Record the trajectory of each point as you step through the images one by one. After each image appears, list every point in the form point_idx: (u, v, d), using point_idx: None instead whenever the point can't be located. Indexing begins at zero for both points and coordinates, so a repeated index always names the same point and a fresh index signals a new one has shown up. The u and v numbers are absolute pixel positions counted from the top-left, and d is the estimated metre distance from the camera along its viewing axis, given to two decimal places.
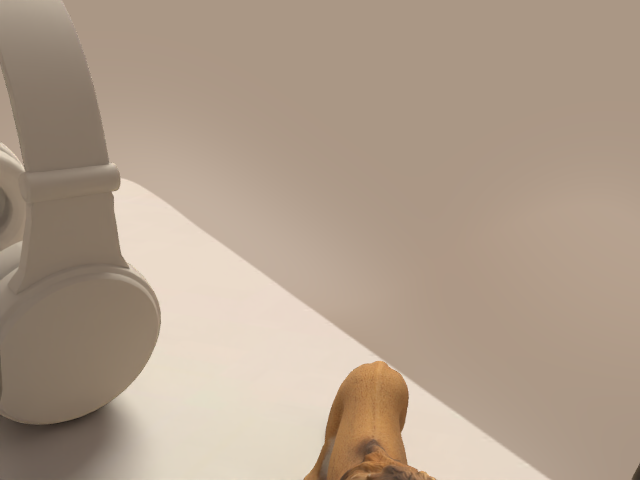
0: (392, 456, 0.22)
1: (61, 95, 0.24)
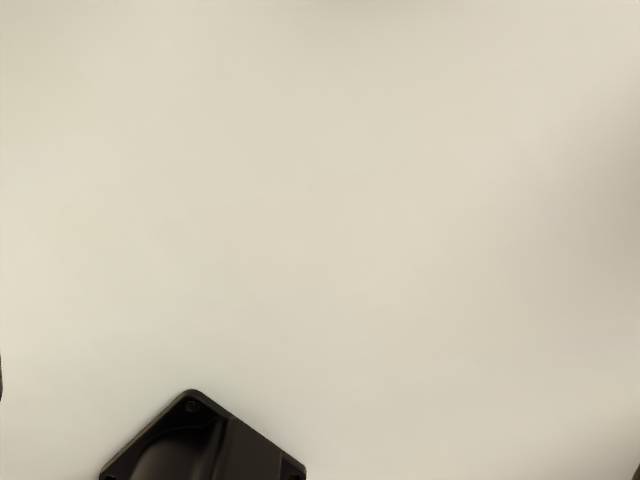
0: None
1: None
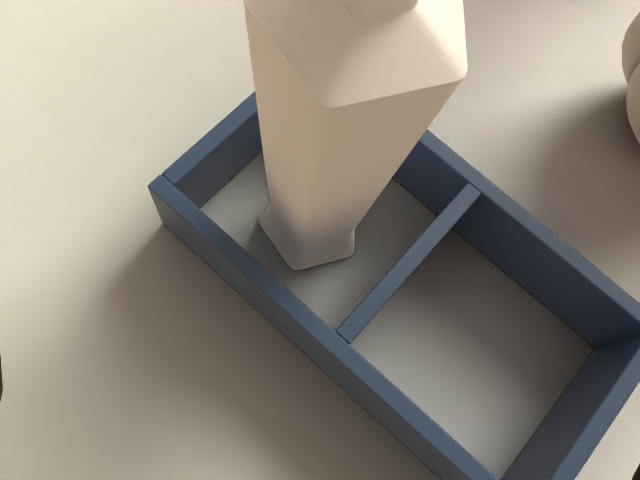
0: None
1: None
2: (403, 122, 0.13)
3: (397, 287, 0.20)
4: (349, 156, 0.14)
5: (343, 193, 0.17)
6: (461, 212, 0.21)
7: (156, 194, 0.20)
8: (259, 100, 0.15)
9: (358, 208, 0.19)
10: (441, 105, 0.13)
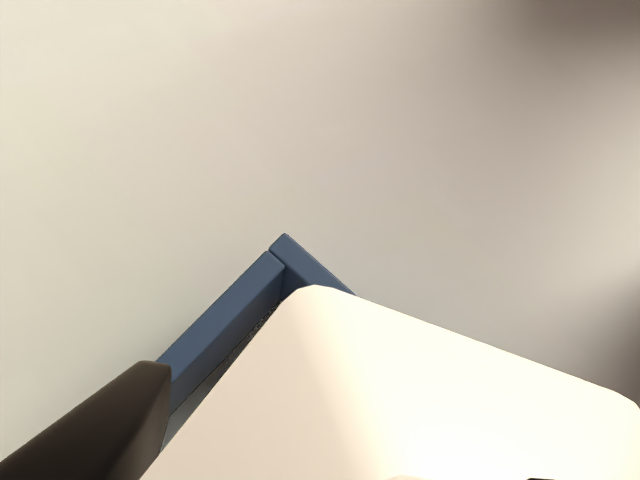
0: None
1: None
2: None
3: None
4: None
5: None
6: None
7: None
8: None
9: None
10: None
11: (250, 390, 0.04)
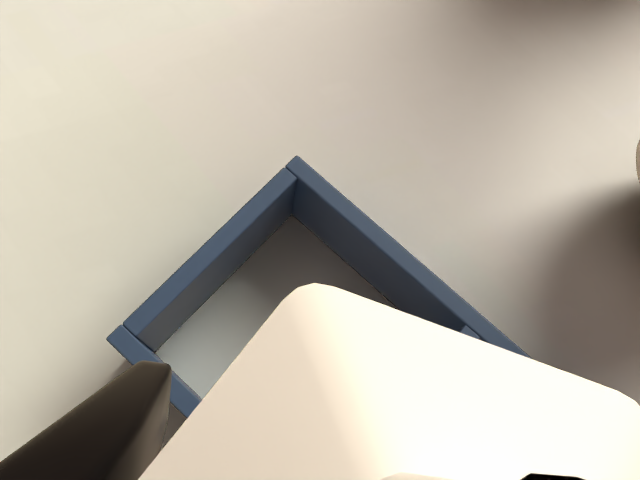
0: None
1: None
2: None
3: None
4: None
5: None
6: None
7: (116, 348, 0.18)
8: None
9: None
10: None
11: (252, 387, 0.04)
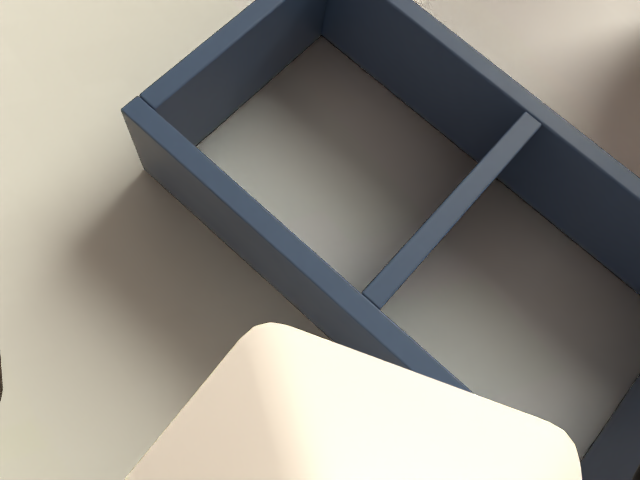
0: None
1: None
2: None
3: (440, 238, 0.15)
4: None
5: None
6: (517, 147, 0.16)
7: (132, 120, 0.15)
8: None
9: None
10: None
11: (207, 419, 0.05)
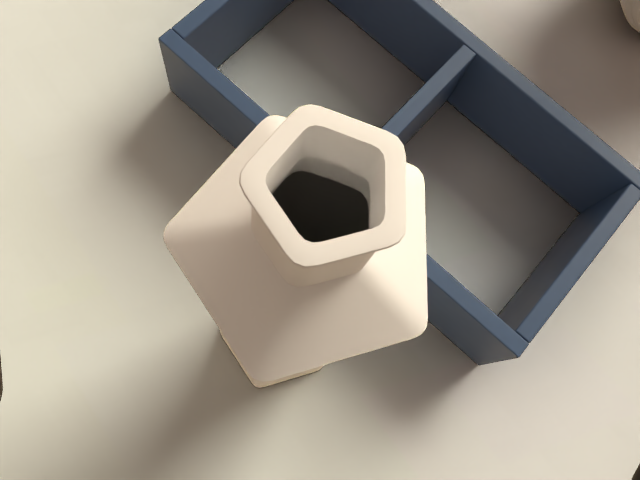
0: None
1: None
2: None
3: None
4: None
5: None
6: (456, 71, 0.22)
7: (166, 47, 0.21)
8: None
9: None
10: None
11: (246, 152, 0.10)
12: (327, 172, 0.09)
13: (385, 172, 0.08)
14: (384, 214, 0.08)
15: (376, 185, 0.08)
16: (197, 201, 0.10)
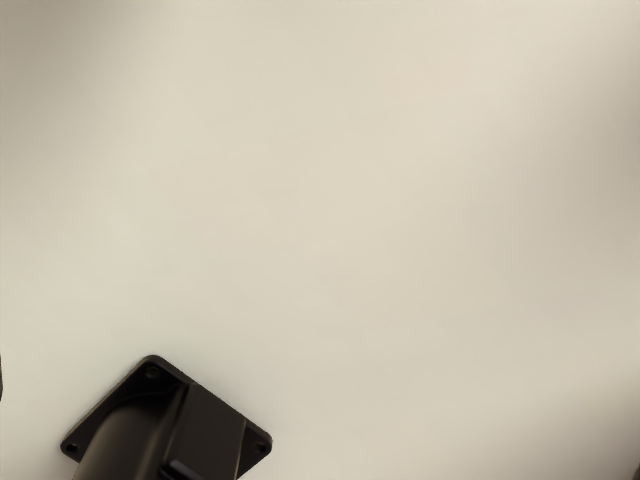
0: None
1: None
2: None
3: None
4: None
5: None
6: None
7: None
8: None
9: None
10: None
11: None
12: None
13: None
14: None
15: None
16: None
